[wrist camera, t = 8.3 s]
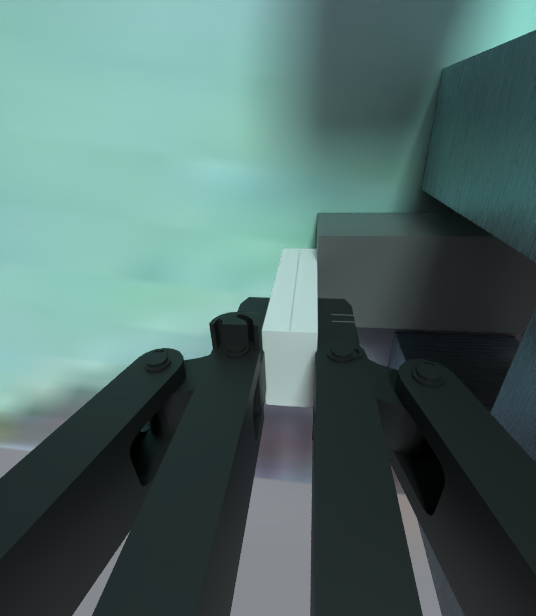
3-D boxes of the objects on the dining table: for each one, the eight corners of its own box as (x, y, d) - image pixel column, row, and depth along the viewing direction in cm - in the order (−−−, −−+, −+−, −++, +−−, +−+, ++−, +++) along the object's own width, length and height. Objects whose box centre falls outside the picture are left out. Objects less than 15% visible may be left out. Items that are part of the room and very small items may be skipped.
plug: (318, 202, 15) (319, 256, 9) (725, 198, 13) (1089, 266, 7) (314, 298, 17) (313, 391, 11) (655, 307, 15) (875, 428, 9)
